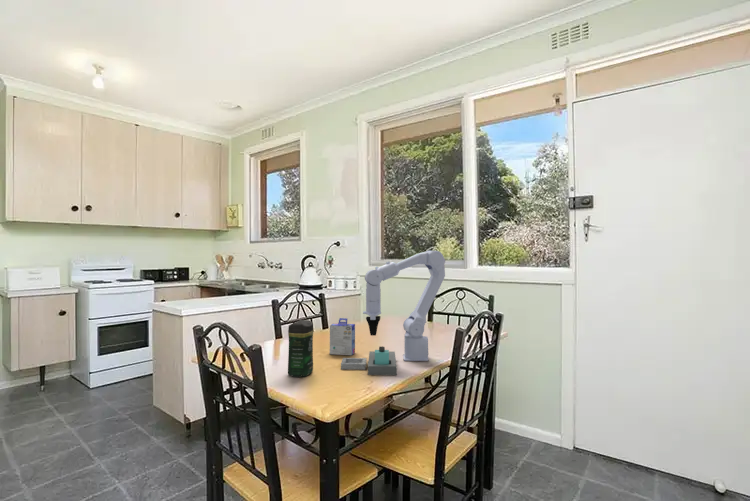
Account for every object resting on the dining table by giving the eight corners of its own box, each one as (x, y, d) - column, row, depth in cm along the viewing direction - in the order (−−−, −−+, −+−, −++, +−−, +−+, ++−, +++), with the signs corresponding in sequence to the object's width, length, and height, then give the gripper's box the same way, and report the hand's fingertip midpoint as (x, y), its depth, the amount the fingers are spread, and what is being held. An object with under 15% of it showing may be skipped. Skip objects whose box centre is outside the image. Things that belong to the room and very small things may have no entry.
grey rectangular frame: (366, 363, 154) (366, 358, 153) (365, 369, 146) (365, 364, 145) (342, 363, 154) (342, 357, 154) (340, 369, 146) (340, 363, 146)
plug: (388, 369, 146) (388, 345, 146) (388, 372, 142) (388, 348, 142) (374, 369, 146) (374, 345, 146) (374, 372, 142) (374, 348, 142)
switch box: (394, 359, 159) (394, 351, 159) (396, 375, 139) (396, 365, 139) (369, 358, 159) (369, 350, 159) (367, 374, 139) (367, 365, 139)
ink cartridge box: (355, 352, 169) (355, 318, 169) (352, 356, 164) (352, 320, 164) (333, 351, 171) (333, 317, 171) (329, 354, 166) (329, 319, 166)
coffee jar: (307, 378, 135) (307, 323, 135) (284, 377, 137) (284, 322, 137) (316, 370, 145) (316, 318, 145) (295, 368, 146) (295, 318, 146)
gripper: (363, 298, 165) (363, 331, 165) (362, 303, 150) (362, 339, 150) (381, 298, 165) (381, 331, 165) (381, 303, 150) (381, 339, 150)
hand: (373, 335), depth 157 cm, fingers closed
